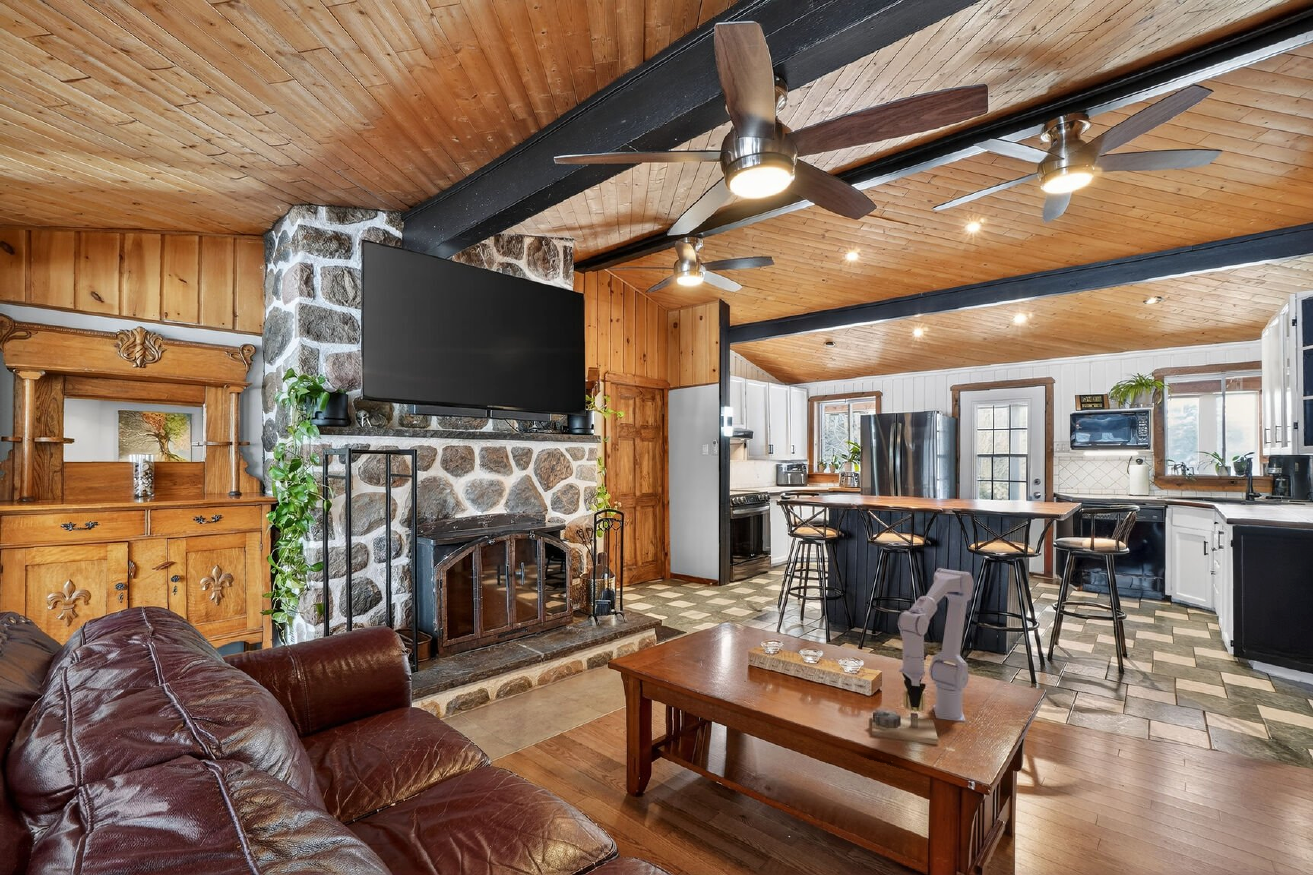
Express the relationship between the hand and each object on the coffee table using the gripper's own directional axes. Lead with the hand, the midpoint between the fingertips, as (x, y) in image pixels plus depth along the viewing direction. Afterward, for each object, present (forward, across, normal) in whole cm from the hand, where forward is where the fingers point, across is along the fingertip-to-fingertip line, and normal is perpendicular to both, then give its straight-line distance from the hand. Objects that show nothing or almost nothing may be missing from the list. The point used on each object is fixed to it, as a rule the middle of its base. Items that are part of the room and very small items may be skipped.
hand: (914, 702), depth 175 cm
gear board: (+8, 0, -3) cm, 9 cm away
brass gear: (+1, 0, 0) cm, 1 cm away
